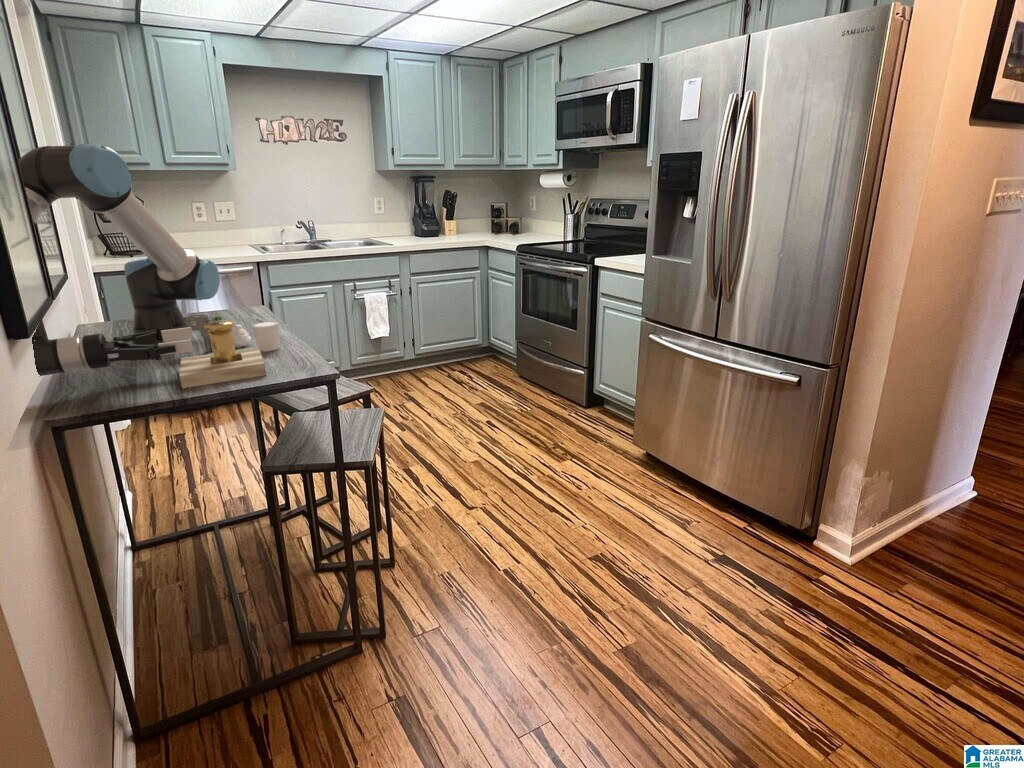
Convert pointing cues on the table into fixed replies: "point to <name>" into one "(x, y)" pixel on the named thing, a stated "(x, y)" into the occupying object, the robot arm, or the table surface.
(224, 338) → the brass sleeve
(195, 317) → the mechanical component
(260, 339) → the white cup
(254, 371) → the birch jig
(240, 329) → the garlic bulb
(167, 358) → the table surface
